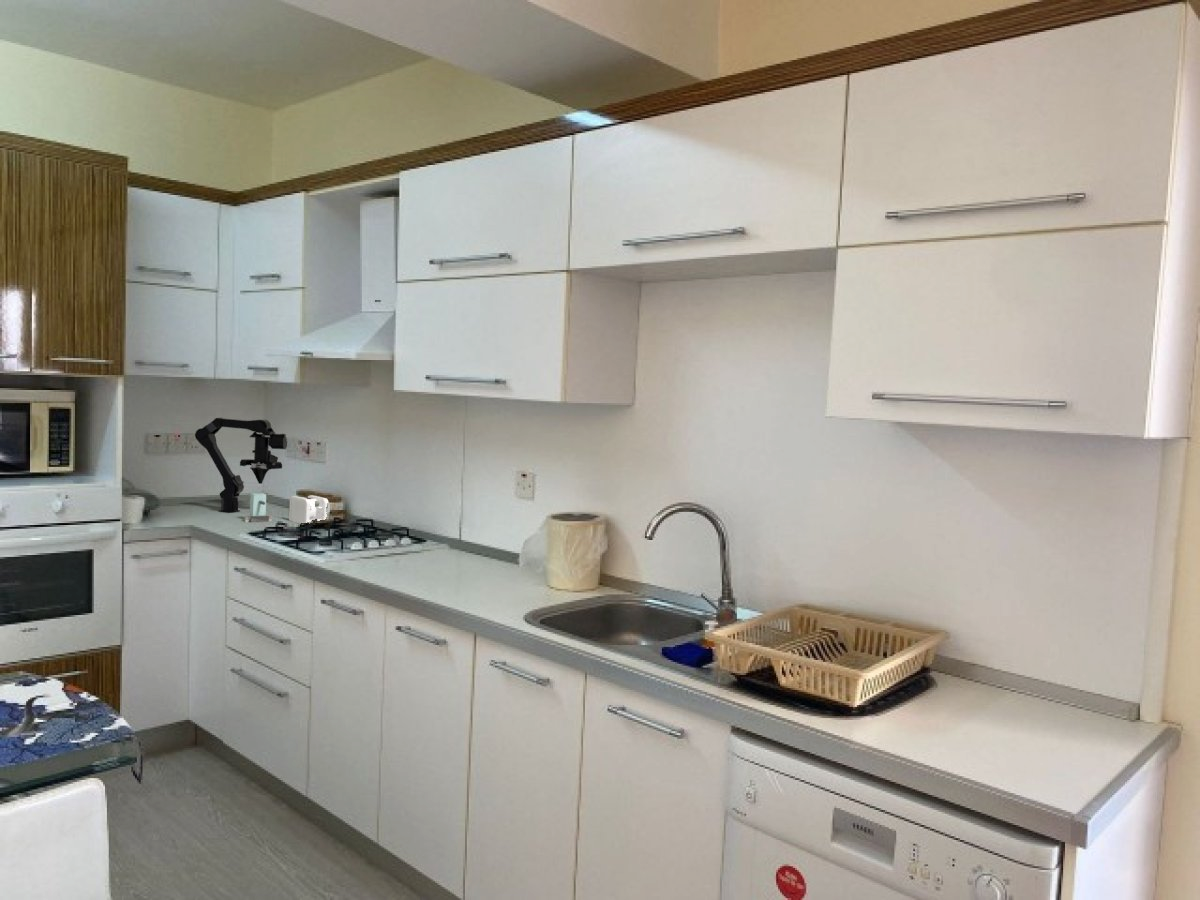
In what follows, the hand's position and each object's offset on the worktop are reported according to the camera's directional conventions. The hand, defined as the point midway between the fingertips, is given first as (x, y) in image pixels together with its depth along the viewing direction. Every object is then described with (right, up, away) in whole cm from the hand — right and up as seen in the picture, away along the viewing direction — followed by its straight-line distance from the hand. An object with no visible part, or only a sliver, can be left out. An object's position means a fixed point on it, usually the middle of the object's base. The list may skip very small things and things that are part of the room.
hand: (260, 483), depth 386 cm
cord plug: (+12, -14, -31) cm, 36 cm away
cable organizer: (+29, -16, -23) cm, 40 cm away
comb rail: (+7, -15, -25) cm, 30 cm away
